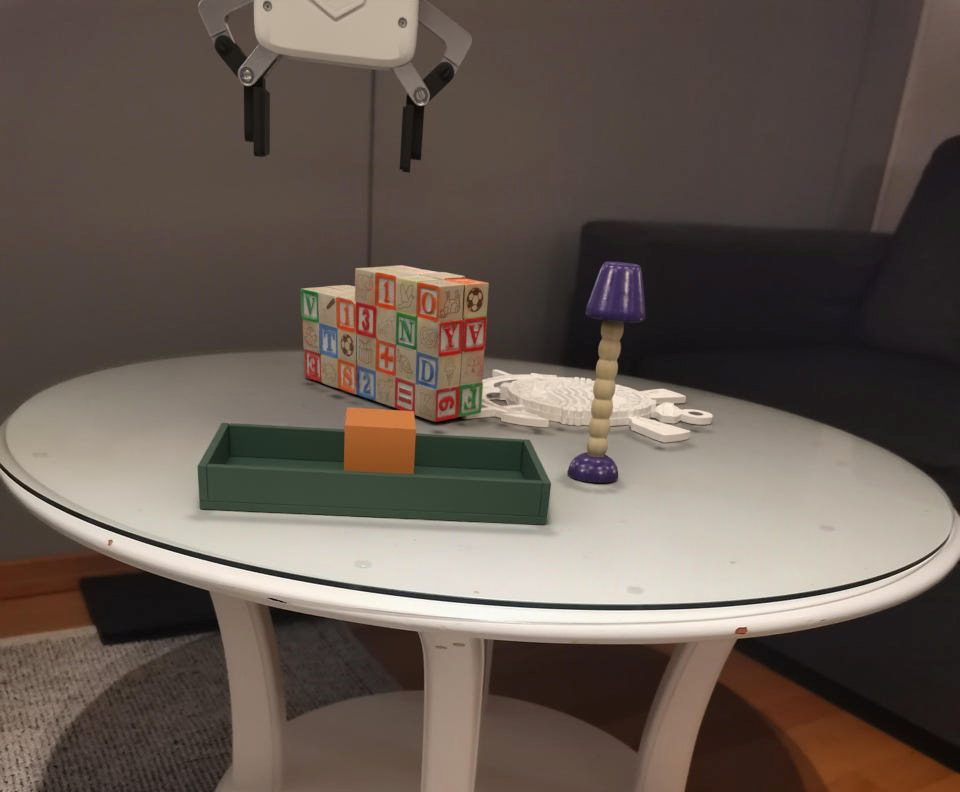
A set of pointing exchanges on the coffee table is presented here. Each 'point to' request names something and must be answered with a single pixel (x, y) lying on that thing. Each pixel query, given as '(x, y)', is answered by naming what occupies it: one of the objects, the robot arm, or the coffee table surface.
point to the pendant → (584, 405)
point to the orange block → (379, 440)
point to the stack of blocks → (400, 339)
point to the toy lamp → (608, 361)
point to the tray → (372, 477)
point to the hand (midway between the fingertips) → (333, 163)
